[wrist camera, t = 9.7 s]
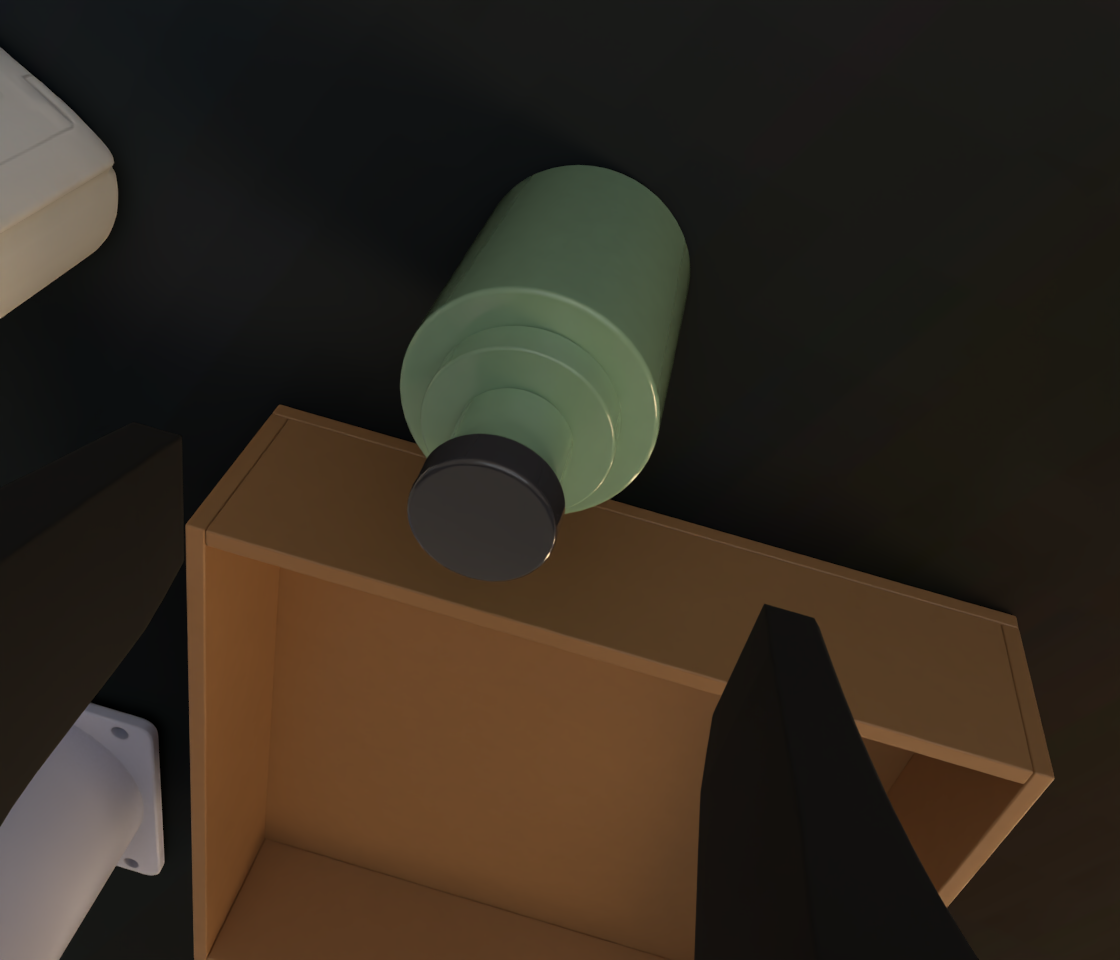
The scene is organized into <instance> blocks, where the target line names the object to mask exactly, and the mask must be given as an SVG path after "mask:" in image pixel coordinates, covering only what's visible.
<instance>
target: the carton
mask: <svg viewBox="0 0 1120 960" xmlns="http://www.w3.org/2000/svg"><path fill="white" fill-rule="evenodd" d="M426 459H427V458H426V457H425V455H424V454H423V452H422V451H421V449H420V448H419V446H418V445H417V444H416V443H412V442H409V441H405V440H402V439H398V438H395V437H391V436H388V435H384V434H381V433H377V432H374V431H370V430H367V429H364V428H360V427H357V426H353V425H350V424H346V423H343V422H339V421H336V420H332V419H329V418H325V417H322V416H318V415H315V414H311V413H308V412H304V411H301V410H298V409H294V408H291V407H287V406H284V405H278V407H277V408H276V409H275V410H274V412H273V413H272V414H271V416H270V417H269V418H268V419H267V421H266V422H265V423H264V425H263V426H262V427H261V428H260V430H259V431H258V432H257V434H256V435H255V436H254V437H253V439H252V440H251V441H250V443H249V444H248V445H247V446H246V448H245V449H244V450H243V452H242V453H241V454H240V455H239V457H238V458H237V459H236V461H235V462H234V463H233V464H232V466H231V467H230V468H229V469H228V471H227V472H226V473H225V475H224V476H223V477H222V478H221V480H220V481H219V482H218V484H217V485H216V486H215V487H214V489H213V490H212V491H211V493H210V494H209V495H208V496H207V498H206V499H205V500H204V502H203V503H202V504H201V505H200V507H199V508H198V509H197V511H196V512H195V513H194V514H193V516H192V517H191V518H190V520H189V521H188V522H187V523H186V525H185V532H186V582H187V632H188V682H189V733H190V783H191V833H192V883H193V933H194V960H694V952H695V922H696V893H697V864H698V837H699V812H700V791H701V785H702V778H703V771H704V765H705V758H706V752H707V746H708V740H709V734H710V728H711V722H712V715H713V713H714V710H715V708H716V706H717V704H718V702H719V700H720V698H721V695H722V693H723V691H724V689H725V687H726V685H727V682H728V680H729V678H730V676H731V674H732V672H733V670H734V667H735V665H736V663H737V661H738V659H739V657H740V654H741V652H742V650H743V648H744V646H745V644H746V642H747V639H748V637H749V635H750V633H751V631H752V629H753V626H754V624H755V622H756V620H757V618H758V616H759V614H760V611H761V609H762V607H763V605H764V604H768V605H771V606H775V607H778V608H781V609H785V610H788V611H792V612H795V613H799V614H802V615H806V616H809V617H813V618H815V620H816V622H817V624H818V626H819V627H820V630H821V633H822V636H823V639H824V642H825V644H826V647H827V650H828V653H829V656H830V658H831V661H832V664H833V667H834V669H835V672H836V675H837V677H838V680H839V683H840V685H841V688H842V690H843V693H844V696H845V698H846V701H847V703H848V706H849V708H850V711H851V713H852V716H853V718H854V721H855V723H856V726H857V728H858V730H859V733H860V735H861V738H862V740H863V742H864V745H865V747H866V749H867V751H868V754H869V756H870V758H871V760H872V763H873V765H874V767H875V769H876V772H877V774H878V776H879V778H880V781H881V783H882V785H883V787H884V789H885V792H886V794H887V796H888V798H889V800H890V802H891V804H892V806H893V808H894V811H895V813H896V815H897V817H898V819H899V821H900V823H901V824H902V826H903V828H904V830H905V832H906V834H907V836H908V838H909V840H910V842H911V844H912V846H913V848H914V850H915V852H916V854H917V856H918V858H919V859H920V861H921V863H922V865H923V867H924V869H925V871H926V872H927V874H928V876H929V878H930V880H931V881H932V883H933V885H934V887H935V889H936V890H937V892H938V894H939V896H940V897H941V899H942V901H943V902H944V904H945V906H946V907H948V906H949V905H950V903H951V902H952V901H953V900H954V899H955V897H956V896H957V895H958V894H959V893H960V891H961V890H962V889H963V888H964V887H965V885H966V884H967V883H968V882H969V881H970V879H971V878H972V877H973V876H974V875H975V873H976V872H977V871H978V870H979V869H980V867H981V866H982V865H983V864H984V863H985V861H986V860H987V859H988V858H989V857H990V855H991V854H992V853H993V852H994V851H995V849H996V848H997V847H998V846H999V845H1000V843H1001V842H1002V841H1003V840H1004V839H1005V837H1006V836H1007V835H1008V834H1009V833H1010V832H1011V830H1012V829H1013V828H1014V827H1015V826H1016V824H1017V823H1018V822H1019V821H1020V820H1021V818H1022V817H1023V816H1024V815H1025V814H1026V812H1027V811H1028V810H1029V809H1030V808H1031V806H1032V805H1033V804H1034V803H1035V802H1036V800H1037V799H1038V798H1039V797H1040V796H1041V794H1042V793H1043V792H1044V791H1045V790H1046V788H1047V787H1048V786H1049V785H1050V784H1051V782H1052V781H1053V780H1054V774H1053V770H1052V765H1051V761H1050V757H1049V753H1048V749H1047V745H1046V740H1045V736H1044V732H1043V728H1042V724H1041V720H1040V715H1039V711H1038V707H1037V703H1036V699H1035V695H1034V690H1033V686H1032V682H1031V678H1030V674H1029V670H1028V665H1027V661H1026V657H1025V653H1024V649H1023V644H1022V640H1021V636H1020V632H1019V629H1018V624H1017V619H1016V617H1015V616H1013V615H1010V614H1006V613H1003V612H999V611H996V610H992V609H989V608H985V607H982V606H978V605H975V604H971V603H968V602H965V601H961V600H958V599H954V598H951V597H947V596H944V595H940V594H937V593H933V592H930V591H926V590H923V589H919V588H916V587H912V586H909V585H905V584H902V583H899V582H895V581H892V580H888V579H885V578H881V577H878V576H874V575H871V574H867V573H864V572H860V571H857V570H853V569H850V568H846V567H843V566H839V565H836V564H833V563H829V562H826V561H822V560H819V559H815V558H812V557H808V556H805V555H801V554H798V553H794V552H791V551H787V550H784V549H780V548H777V547H773V546H770V545H767V544H763V543H760V542H756V541H753V540H749V539H746V538H742V537H739V536H735V535H732V534H728V533H725V532H721V531H718V530H714V529H711V528H707V527H704V526H701V525H697V524H694V523H690V522H687V521H683V520H680V519H676V518H673V517H669V516H666V515H662V514H659V513H655V512H652V511H648V510H645V509H641V508H638V507H634V506H631V505H628V504H624V503H621V502H617V501H614V500H610V499H609V500H607V501H605V502H603V503H601V504H599V505H596V506H594V507H591V508H588V509H585V510H582V511H577V512H573V513H568V514H564V519H563V522H562V525H561V528H560V532H559V535H558V538H557V542H556V544H555V547H554V550H553V552H552V553H551V555H550V557H549V558H548V559H547V560H546V562H545V563H544V564H543V565H541V566H540V567H539V568H538V569H537V570H535V571H533V572H532V573H530V574H528V575H526V576H524V577H522V578H519V579H515V580H511V581H505V582H486V581H479V580H474V579H470V578H467V577H464V576H461V575H458V574H456V573H454V572H452V571H450V570H448V569H446V568H445V567H443V566H442V565H440V564H439V563H437V562H436V561H435V560H434V559H432V558H431V557H430V556H429V555H428V554H427V553H426V552H425V551H424V550H423V549H422V547H421V546H420V545H419V543H418V542H417V540H416V538H415V537H414V535H413V533H412V530H411V528H410V525H409V521H408V515H407V499H408V495H409V492H410V489H411V487H412V485H413V483H414V481H415V479H416V477H417V475H418V473H419V471H420V469H421V467H422V465H423V464H424V462H425V460H426Z"/></svg>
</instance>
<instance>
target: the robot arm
mask: <svg viewBox="0 0 1120 960" xmlns="http://www.w3.org/2000/svg"><path fill="white" fill-rule="evenodd" d="M183 562H184V520H183V467H182V436H180V435H177V434H174V433H170V432H167V431H163V430H160V429H156V428H153V427H149V426H146V425H142V424H139V423H135V422H133V423H131V424H128V425H126V426H124V427H122V428H120V429H118V430H115V431H113V432H111V433H109V434H107V435H105V436H103V437H101V438H99V439H97V440H95V441H93V442H91V443H89V444H87V445H85V446H83V447H81V448H79V449H77V450H75V451H73V452H71V453H70V454H68V455H66V456H64V457H62V458H60V459H58V460H56V461H54V462H52V463H50V464H48V465H46V466H44V467H42V468H40V469H38V470H36V471H34V472H32V473H30V474H28V475H26V476H23V477H21V478H19V479H17V480H15V481H13V482H11V483H9V484H7V485H5V486H3V487H1V488H0V960H59V959H60V957H61V956H62V954H63V952H64V951H65V949H66V947H67V946H68V944H69V942H70V941H71V939H72V937H73V936H74V934H75V932H76V931H77V929H78V928H79V926H80V924H81V923H82V921H83V919H84V918H85V916H86V914H87V913H88V911H89V909H90V908H91V906H92V904H93V903H94V901H95V899H96V898H97V896H98V894H99V893H100V891H101V890H102V888H103V886H104V885H105V883H106V881H107V880H108V878H109V876H110V875H111V873H112V871H113V870H114V868H115V866H119V867H123V868H126V869H129V870H133V871H136V872H139V873H142V874H146V875H157V874H158V873H160V871H161V869H162V867H163V865H164V863H165V861H164V841H163V821H162V801H161V781H160V760H159V740H158V732H157V729H156V727H155V726H154V725H153V724H152V723H151V722H150V721H148V720H146V719H144V718H141V717H137V716H134V715H131V714H127V713H124V712H121V711H117V710H114V709H111V708H107V707H104V706H100V705H97V704H94V703H90V702H91V701H92V700H93V698H94V697H95V696H96V695H97V693H98V692H99V691H100V689H101V688H102V687H103V685H104V684H105V683H106V681H107V680H108V679H109V677H110V676H111V675H112V673H113V672H114V671H115V670H116V668H117V667H118V666H119V664H120V663H121V662H122V660H123V659H124V658H125V656H126V655H127V654H128V652H129V651H130V650H131V648H132V647H133V646H134V644H135V643H136V641H137V640H138V639H139V637H140V636H141V635H142V633H143V632H144V631H145V629H146V627H147V626H148V624H149V622H150V621H151V619H152V617H153V616H154V614H155V612H156V610H157V609H158V607H159V605H160V604H161V602H162V600H163V599H164V597H165V595H166V593H167V591H168V589H169V588H170V586H171V584H172V582H173V580H174V578H175V577H176V575H177V573H178V571H179V569H180V567H181V566H182V564H183ZM694 960H979V959H978V958H977V956H976V955H975V953H974V951H973V950H972V948H971V947H970V945H969V944H968V942H967V941H966V939H965V937H964V936H963V934H962V932H961V931H960V929H959V927H958V926H957V924H956V922H955V921H954V919H953V917H952V916H951V914H950V912H949V911H948V909H947V907H946V906H945V904H944V902H943V901H942V899H941V897H940V896H939V894H938V892H937V890H936V889H935V887H934V885H933V883H932V881H931V880H930V878H929V876H928V874H927V872H926V871H925V869H924V867H923V865H922V863H921V861H920V859H919V858H918V856H917V854H916V852H915V850H914V848H913V846H912V844H911V842H910V840H909V838H908V836H907V834H906V832H905V830H904V828H903V826H902V824H901V823H900V821H899V819H898V817H897V815H896V813H895V811H894V808H893V806H892V804H891V802H890V800H889V798H888V796H887V794H886V792H885V789H884V787H883V785H882V783H881V781H880V778H879V776H878V774H877V772H876V769H875V767H874V765H873V763H872V760H871V758H870V756H869V754H868V751H867V749H866V747H865V745H864V742H863V740H862V738H861V735H860V733H859V730H858V728H857V726H856V723H855V721H854V718H853V716H852V713H851V711H850V708H849V706H848V703H847V701H846V698H845V696H844V693H843V690H842V688H841V685H840V683H839V680H838V677H837V675H836V672H835V669H834V667H833V664H832V661H831V658H830V656H829V653H828V650H827V647H826V644H825V642H824V639H823V636H822V633H821V630H820V627H819V626H818V624H817V622H816V620H815V618H813V617H809V616H806V615H802V614H799V613H795V612H792V611H788V610H785V609H781V608H778V607H775V606H771V605H768V604H764V605H763V607H762V609H761V611H760V614H759V616H758V618H757V620H756V622H755V624H754V626H753V629H752V631H751V633H750V635H749V637H748V639H747V642H746V644H745V646H744V648H743V650H742V652H741V654H740V657H739V659H738V661H737V663H736V665H735V667H734V670H733V672H732V674H731V676H730V678H729V680H728V682H727V685H726V687H725V689H724V691H723V693H722V695H721V698H720V700H719V702H718V704H717V706H716V708H715V710H714V713H713V715H712V722H711V728H710V734H709V740H708V746H707V752H706V758H705V765H704V771H703V778H702V785H701V791H700V812H699V837H698V864H697V893H696V922H695V952H694Z"/></svg>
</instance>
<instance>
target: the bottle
mask: <svg viewBox="0 0 1120 960" xmlns="http://www.w3.org/2000/svg"><path fill="white" fill-rule="evenodd" d="M689 280H690V259H689V254H688V249H687V245H686V242H685V239H684V236H683V233H682V231H681V229H680V227H679V225H678V223H677V221H676V220H675V218H674V217H673V215H672V214H671V212H670V211H669V209H668V208H667V207H666V206H665V205H664V203H663V202H662V201H661V200H660V199H659V198H658V197H657V196H656V195H655V194H653V193H652V192H651V191H650V190H649V189H648V188H646V187H645V186H643V185H642V184H640V183H639V182H637V181H636V180H634V179H632V178H630V177H628V176H626V175H624V174H621V173H618V172H616V171H613V170H610V169H606V168H601V167H596V166H587V165H569V166H561V167H556V168H551V169H548V170H545V171H542V172H539V173H537V174H535V175H533V176H531V177H529V178H527V179H525V180H524V181H522V182H521V183H519V184H518V185H517V186H515V187H514V188H513V189H512V190H511V191H510V192H509V193H508V194H506V195H505V197H504V198H503V199H502V200H501V202H500V203H499V204H498V205H497V207H496V208H495V210H494V211H493V213H492V214H491V216H490V218H489V219H488V221H487V222H486V224H485V225H484V227H483V228H482V230H481V232H480V233H479V235H478V236H477V238H476V239H475V241H474V242H473V244H472V245H471V247H470V249H469V250H468V252H467V253H466V255H465V256H464V258H463V259H462V261H461V263H460V264H459V266H458V267H457V269H456V270H455V272H454V273H453V275H452V276H451V278H450V280H449V281H448V283H447V284H446V286H445V287H444V289H443V290H442V292H441V294H440V295H439V297H438V298H437V300H436V301H435V303H434V304H433V306H432V307H431V309H430V311H429V312H428V314H427V315H426V317H425V318H424V320H423V321H422V323H421V325H420V326H419V328H418V329H417V331H416V332H415V334H414V336H413V338H412V339H411V341H410V343H409V345H408V347H407V350H406V353H405V355H404V358H403V363H402V367H401V373H400V394H401V403H402V408H403V412H404V416H405V419H406V422H407V424H408V427H409V430H410V432H411V434H412V436H413V438H414V440H415V441H416V443H417V445H418V446H419V448H420V449H421V451H422V452H423V454H424V455H425V457H426V458H427V459H426V460H425V462H424V464H423V465H422V467H421V469H420V471H419V473H418V475H417V477H416V479H415V481H414V483H413V485H412V487H411V489H410V492H409V495H408V499H407V515H408V521H409V525H410V528H411V530H412V533H413V535H414V537H415V538H416V540H417V542H418V543H419V545H420V546H421V547H422V549H423V550H424V551H425V552H426V553H427V554H428V555H429V556H430V557H431V558H432V559H434V560H435V561H436V562H437V563H439V564H440V565H442V566H443V567H445V568H446V569H448V570H450V571H452V572H454V573H456V574H458V575H461V576H464V577H467V578H470V579H474V580H479V581H486V582H505V581H511V580H515V579H519V578H522V577H524V576H526V575H528V574H530V573H532V572H533V571H535V570H537V569H538V568H539V567H540V566H541V565H543V564H544V563H545V562H546V560H547V559H548V558H549V557H550V555H551V553H552V552H553V550H554V547H555V544H556V542H557V538H558V535H559V532H560V528H561V525H562V522H563V519H564V514H568V513H573V512H577V511H582V510H585V509H588V508H591V507H594V506H596V505H599V504H601V503H603V502H605V501H607V500H609V499H610V498H612V497H613V496H615V495H617V494H618V493H620V492H621V491H622V490H624V489H625V488H626V487H627V486H628V485H629V484H630V483H632V482H633V481H634V480H635V478H636V477H637V476H638V475H639V474H640V473H641V471H642V470H643V469H644V467H645V465H646V464H647V462H648V461H649V459H650V457H651V455H652V452H653V450H654V447H655V445H656V441H657V437H658V433H659V429H660V424H661V419H662V414H663V410H664V405H665V400H666V395H667V390H668V385H669V380H670V376H671V371H672V366H673V361H674V356H675V351H676V346H677V342H678V337H679V332H680V327H681V322H682V317H683V313H684V308H685V303H686V298H687V293H688V288H689Z"/></svg>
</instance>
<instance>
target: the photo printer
mask: <svg viewBox="0 0 1120 960" xmlns="http://www.w3.org/2000/svg"><path fill="white" fill-rule="evenodd" d="M113 164H114V159H113V156H112V154H111V152H110V151H109V149H108V148H107V147H106V145H105V144H104V143H103V142H102V141H101V139H100V138H99V137H98V136H97V135H96V134H95V133H94V132H93V131H92V130H91V129H90V128H89V127H88V126H87V125H86V124H85V123H84V121H83V120H82V119H81V118H80V117H79V116H78V115H77V114H76V113H75V112H74V111H73V110H72V109H71V108H70V107H69V106H68V105H67V104H65V103H64V102H63V101H62V100H61V99H60V98H59V97H58V96H56V95H55V94H54V93H53V92H52V91H51V90H50V89H49V88H47V87H46V86H45V85H44V84H43V83H42V82H41V81H39V80H38V79H37V78H36V77H34V76H33V75H32V74H31V73H30V72H29V71H27V70H26V69H25V68H24V67H23V66H22V65H20V64H19V63H18V62H17V61H15V60H14V59H13V58H12V57H11V56H10V55H9V54H8V53H7V52H5V51H4V50H3V49H2V48H1V47H0V318H2V317H3V316H5V315H6V314H8V313H9V312H10V311H12V310H13V309H15V308H16V307H17V306H19V305H20V304H22V303H23V302H25V301H26V300H27V299H29V298H30V297H32V296H33V295H34V294H36V293H37V292H39V291H40V290H42V289H43V288H44V287H46V286H47V285H49V284H50V283H51V282H53V281H54V280H56V279H57V278H58V277H60V276H61V275H63V274H64V273H65V272H67V271H68V270H70V269H71V268H73V267H74V266H75V265H77V264H78V263H80V262H81V261H82V260H84V259H85V258H87V257H88V256H89V255H91V254H92V253H93V252H95V251H96V250H97V249H98V248H99V247H100V246H101V245H102V243H103V242H104V241H105V240H106V239H107V237H108V235H109V233H110V231H111V230H112V228H113V225H114V221H115V218H116V215H117V208H118V186H117V179H116V173H115V172H114V170H113V168H112V166H113Z"/></svg>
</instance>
